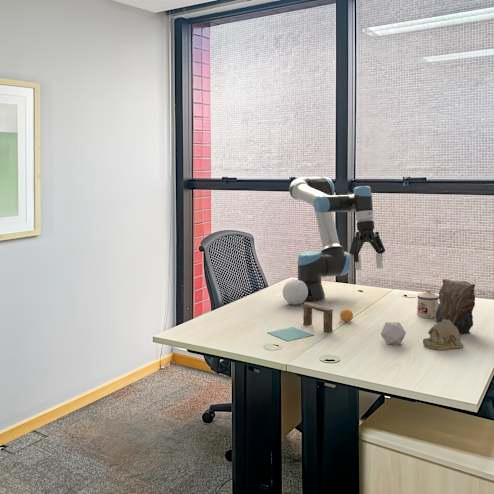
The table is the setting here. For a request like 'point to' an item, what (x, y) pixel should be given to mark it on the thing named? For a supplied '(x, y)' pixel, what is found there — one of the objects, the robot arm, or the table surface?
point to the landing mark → (290, 334)
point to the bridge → (326, 315)
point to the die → (393, 333)
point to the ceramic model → (443, 336)
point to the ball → (346, 315)
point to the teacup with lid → (427, 304)
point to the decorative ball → (295, 292)
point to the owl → (456, 304)
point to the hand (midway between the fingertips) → (369, 269)
